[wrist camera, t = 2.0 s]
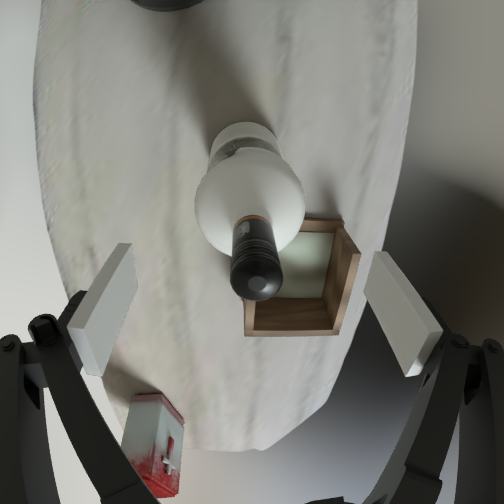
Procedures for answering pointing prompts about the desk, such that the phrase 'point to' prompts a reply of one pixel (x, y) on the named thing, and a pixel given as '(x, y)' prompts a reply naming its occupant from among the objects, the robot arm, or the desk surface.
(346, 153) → the desk surface
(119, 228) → the desk surface
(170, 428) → the bottle
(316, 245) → the wooden box
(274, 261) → the vodka
